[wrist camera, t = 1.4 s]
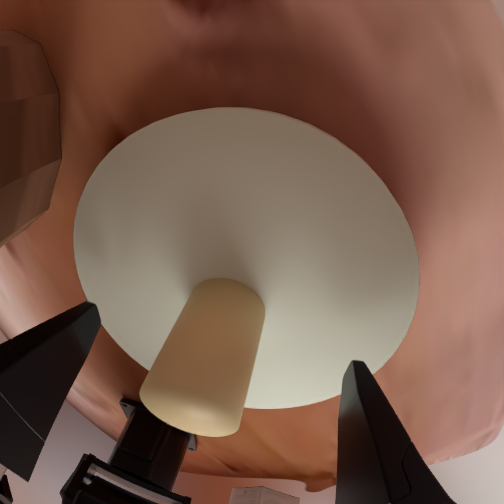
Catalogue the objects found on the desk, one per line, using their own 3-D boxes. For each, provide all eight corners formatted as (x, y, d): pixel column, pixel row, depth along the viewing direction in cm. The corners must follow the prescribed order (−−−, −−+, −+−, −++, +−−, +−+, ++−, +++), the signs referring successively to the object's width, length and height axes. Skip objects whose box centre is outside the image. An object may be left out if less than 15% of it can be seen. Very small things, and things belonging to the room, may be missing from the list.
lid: (348, 386, 16) (346, 496, 10) (127, 340, 17) (74, 427, 11) (442, 145, 9) (572, 229, 3) (95, 104, 10) (-47, 147, 4)
